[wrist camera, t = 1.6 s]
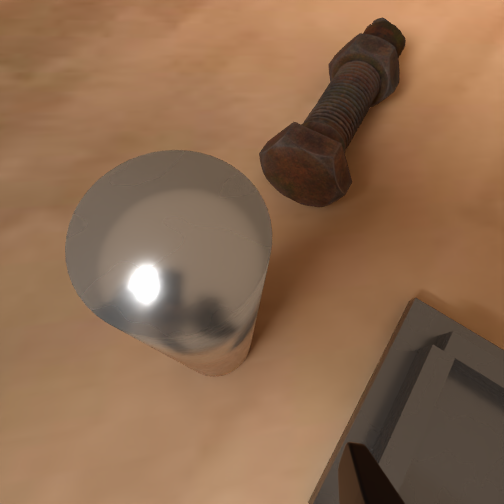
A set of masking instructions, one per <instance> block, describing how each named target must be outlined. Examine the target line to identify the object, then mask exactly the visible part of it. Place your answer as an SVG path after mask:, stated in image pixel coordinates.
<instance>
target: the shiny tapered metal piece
mask: <svg viewBox="0 0 504 504" xmlns="http://www.w3.org/2000/svg"><path fill="white" fill-rule="evenodd" d="M271 248H272V227H271V220H270V216H269V213H268V209H267V207H266V205H265V202H264V200H263V198H262V197H261V195H260V193H259V192H258V190H257V189H256V187H255V186H254V185H253V184H252V182H251V181H250V180H249V179H248V178H247V177H246V176H245V175H244V174H242V173H241V172H240V171H239V170H237V169H236V168H235V167H233V166H232V165H230V164H228V163H226V162H224V161H223V160H220V159H218V158H215V157H213V156H210V155H206V154H203V153H199V152H193V151H184V150H169V151H159V152H153V153H149V154H145V155H141V156H138V157H136V158H133V159H131V160H128V161H126V162H124V163H122V164H120V165H118V166H117V167H115V168H114V169H112V170H110V171H109V172H107V173H106V174H105V175H104V176H102V177H101V178H100V179H99V180H98V181H97V182H96V183H95V184H94V185H93V186H92V187H91V188H90V189H89V190H88V191H87V193H86V194H85V195H84V197H83V198H82V199H81V201H80V202H79V204H78V206H77V208H76V209H75V211H74V214H73V216H72V219H71V221H70V224H69V228H68V232H67V236H66V245H65V253H66V264H67V269H68V273H69V276H70V279H71V282H72V284H73V286H74V288H75V290H76V292H77V294H78V295H79V297H80V298H81V299H82V301H83V302H84V303H85V305H86V306H87V307H88V308H89V309H90V310H91V311H92V312H93V313H95V314H96V315H97V316H98V317H100V318H101V319H102V320H104V321H105V322H107V323H108V324H110V325H112V326H114V327H116V328H117V329H119V330H121V331H123V332H125V333H127V334H128V335H130V336H132V337H134V338H136V339H138V340H139V341H141V342H143V343H145V344H147V345H149V346H150V347H152V348H154V349H156V350H158V351H160V352H161V353H163V354H165V355H167V356H169V357H171V358H172V359H174V360H176V361H178V362H180V363H182V364H183V365H185V366H187V367H189V368H191V369H193V370H194V371H196V372H198V373H200V374H203V375H206V376H222V375H226V374H228V373H230V372H232V371H234V370H235V369H237V368H238V367H239V366H240V365H241V364H242V363H243V361H244V360H245V358H246V357H247V355H248V353H249V350H250V346H251V341H252V337H253V332H254V328H255V323H256V318H257V314H258V309H259V305H260V300H261V296H262V291H263V287H264V282H265V277H266V273H267V268H268V264H269V259H270V254H271Z"/></svg>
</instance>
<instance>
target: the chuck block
mask: <svg viewBox="0 0 504 504" xmlns="http://www.w3.org/2000/svg"><path fill="white" fill-rule="evenodd" d="M348 442H354V443H360V444H364V445H365V446H366V447H367V448H368V449H369V451H370V452H371V454H372V455H373V457H374V458H375V460H376V461H377V463H378V464H379V466H380V467H381V469H382V470H383V472H384V473H385V475H386V476H387V477H388V479H389V480H390V482H391V483H392V485H393V486H394V488H395V489H396V491H397V492H398V494H399V495H400V497H401V498H402V500H403V501H404V503H405V504H504V350H502V349H501V348H499V347H497V346H496V345H494V344H492V343H491V342H489V341H487V340H486V339H484V338H482V337H481V336H479V335H477V334H476V333H474V332H472V331H471V330H469V329H467V328H466V327H464V326H462V325H460V324H459V323H457V322H455V321H454V320H452V319H450V318H449V317H447V316H445V315H444V314H442V313H440V312H439V311H437V310H435V309H434V308H432V307H430V306H429V305H427V304H425V303H424V302H422V301H420V300H419V299H417V298H414V299H413V300H411V301H409V303H408V305H407V307H406V309H405V311H404V313H403V315H402V317H401V319H400V321H399V323H398V325H397V327H396V329H395V331H394V333H393V335H392V337H391V339H390V341H389V343H388V345H387V347H386V349H385V351H384V353H383V355H382V357H381V359H380V361H379V363H378V365H377V367H376V369H375V371H374V373H373V375H372V377H371V379H370V381H369V383H368V385H367V387H366V389H365V391H364V393H363V395H362V397H361V398H360V400H359V402H358V404H357V406H356V408H355V410H354V412H353V414H352V416H351V418H350V420H349V422H348V424H347V426H346V428H345V430H344V432H343V434H342V436H341V438H340V440H339V442H338V444H337V446H336V448H335V450H334V452H333V454H332V456H331V458H330V460H329V462H328V464H327V466H326V468H325V470H324V472H323V474H322V476H321V478H320V480H319V482H318V484H317V486H316V488H315V490H314V492H313V494H312V496H311V498H310V500H309V502H308V503H309V504H339V485H338V467H339V463H340V460H341V457H342V454H343V451H344V448H345V445H346V444H347V443H348Z"/></svg>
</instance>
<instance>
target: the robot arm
mask: <svg viewBox="0 0 504 504" xmlns="http://www.w3.org/2000/svg"><path fill="white" fill-rule="evenodd" d="M338 485H339V504H405V503H404V501H403V500H402V498H401V497H400V495H399V494H398V492H397V491H396V489H395V488H394V486H393V485H392V483H391V482H390V480H389V479H388V477H387V476H386V475H385V473H384V472H383V470H382V469H381V467H380V466H379V464H378V463H377V461H376V460H375V458H374V457H373V455H372V454H371V452H370V451H369V449H368V448H367V447H366V446H365V445H364V444H360V443H354V442H348V443H347V444H346V445H345V448H344V451H343V454H342V457H341V460H340V463H339V467H338Z"/></svg>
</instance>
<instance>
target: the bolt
mask: <svg viewBox="0 0 504 504" xmlns="http://www.w3.org/2000/svg"><path fill="white" fill-rule="evenodd" d="M404 47H405V37H404V36H403V35H402V33H401V31H400V30H399V29H398V28H397V27H396V26H395V25H393V24H391V23H390V22H389V21H387V20H386V19H384V18H379V19H376V20H374V21H373V23H372V25H371V24H370V25H369V26H368V27H367V28H366V30H365V31H364V33H363V34H361V33H360V34H358V35H357V36H356V37H354V38H353V39H352V40H351V41H350V42H348V43H347V44H346V45H345V46H344V47H343V48H342V49H341V50H340V51H339V52H338V53H337V54H336V55H335V56H334V58H333V59H332V60H331V62H330V63H329V75H330V84H329V85H328V87H327V89H326V90H325V92H324V93H323V95H322V96H321V97H320V99H319V101H318V103H317V104H316V106H315V107H314V108H313V110H312V111H311V112H310V113H309V115H308V117H307V118H306V120H305V121H304V123H303V124H302V125H300V124H298V123H296V122H293V123H292V124H290V125H289V126H288V127H286V128H285V129H284V130H282V131H281V132H280V133H278V134H277V135H276V136H275V137H273V138H272V139H271V140H269V141H268V142H267V143H266V145H265V146H264V148H263V149H262V150H261V152H260V153H259V156H260V162H261V166H262V170H263V173H264V175H265V177H266V179H267V180H268V181H269V182H270V183H271V184H272V185H273V186H274V187H275V188H276V189H277V190H278V191H279V192H280V193H281V194H283V195H284V196H286V197H288V198H290V199H292V200H294V201H296V202H298V203H300V204H303V205H308V206H315V207H323V206H326V205H329V204H331V203H333V202H335V201H337V200H338V199H340V198H341V197H343V196H344V195H345V194H346V192H347V190H348V189H349V187H350V185H351V183H352V180H351V176H350V172H349V169H348V165H347V161H346V158H345V150H346V148H347V146H348V145H349V143H350V142H351V139H352V138H353V136H354V134H355V132H356V131H357V129H358V128H359V126H360V124H361V122H362V121H363V118H364V117H365V115H366V114H367V112H368V110H369V108H370V107H372V106H374V105H376V104H378V103H380V102H381V101H382V100H384V99H385V98H387V97H388V96H389V95H390V94H392V93H393V92H394V90H395V89H396V87H397V85H398V83H399V61H398V58H399V56H400V55H401V53H402V50H403V49H404Z"/></svg>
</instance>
